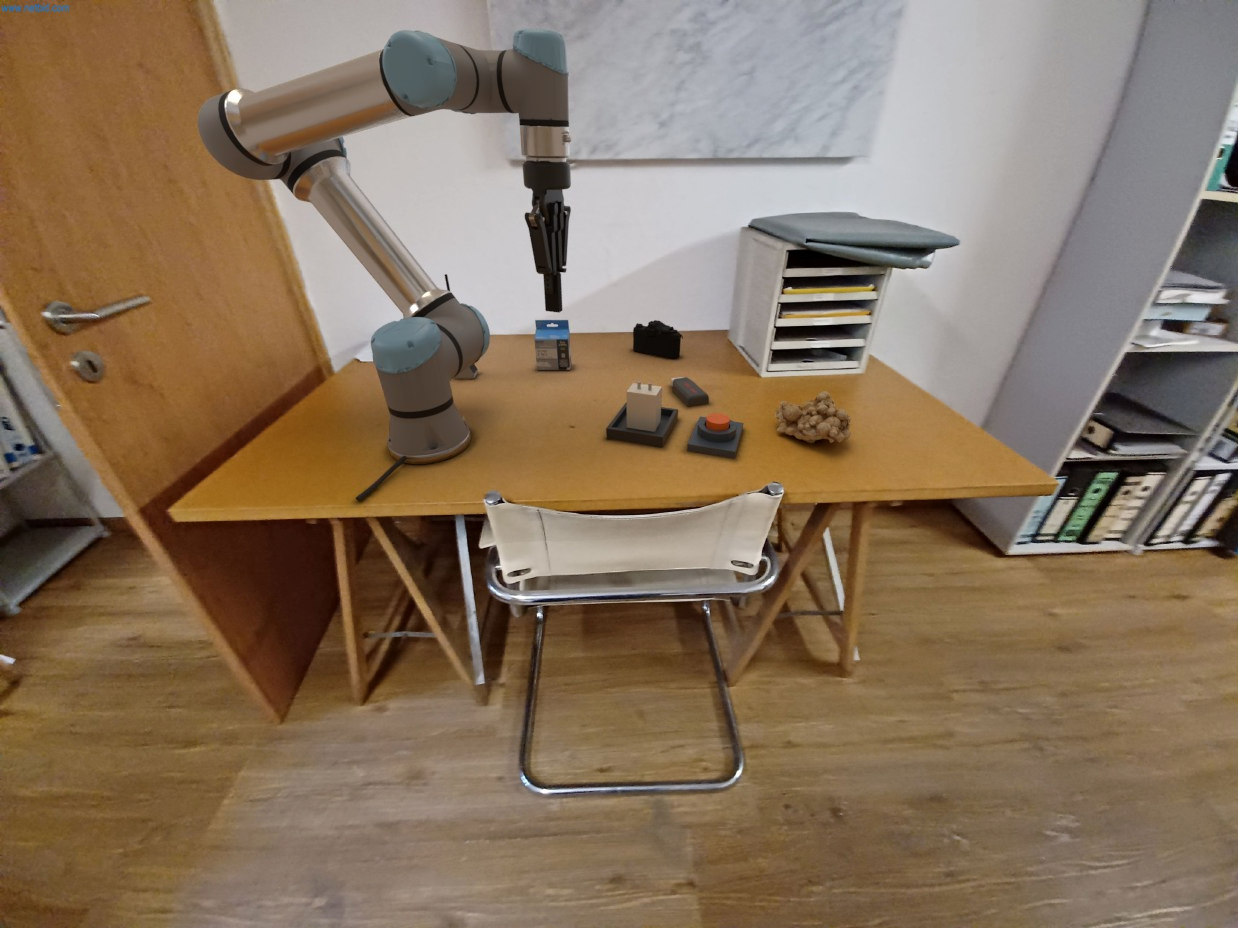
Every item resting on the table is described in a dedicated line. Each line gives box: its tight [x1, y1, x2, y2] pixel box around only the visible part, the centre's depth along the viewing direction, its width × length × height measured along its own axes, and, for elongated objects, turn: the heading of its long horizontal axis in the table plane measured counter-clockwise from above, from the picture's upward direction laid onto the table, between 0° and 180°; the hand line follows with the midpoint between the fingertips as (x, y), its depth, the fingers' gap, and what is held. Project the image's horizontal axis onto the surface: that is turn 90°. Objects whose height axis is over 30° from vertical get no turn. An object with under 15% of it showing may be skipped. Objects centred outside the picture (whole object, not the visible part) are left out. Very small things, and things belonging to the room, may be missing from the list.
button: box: [706, 412, 731, 431], centre depth 97 cm, size 4×4×2 cm
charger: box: [626, 380, 663, 432], centre depth 100 cm, size 4×6×9 cm
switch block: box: [686, 416, 745, 460], centre depth 98 cm, size 12×9×4 cm
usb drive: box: [670, 376, 710, 408], centre depth 116 cm, size 5×12×3 cm, turn 18°
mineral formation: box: [773, 390, 852, 444], centre depth 97 cm, size 8×13×15 cm
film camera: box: [632, 319, 684, 360], centre depth 140 cm, size 15×10×9 cm, turn 58°
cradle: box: [605, 401, 679, 449], centre depth 102 cm, size 13×12×2 cm
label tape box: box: [534, 319, 572, 371], centre depth 128 cm, size 9×4×12 cm, turn 88°
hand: (554, 310), depth 91 cm, fingers closed
